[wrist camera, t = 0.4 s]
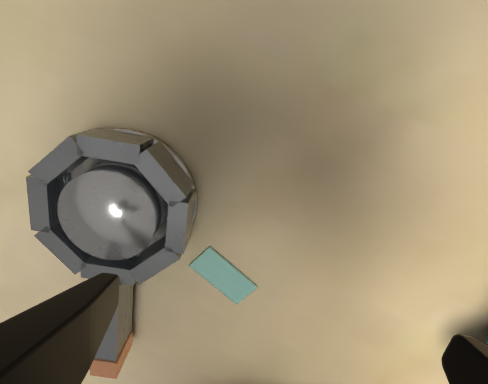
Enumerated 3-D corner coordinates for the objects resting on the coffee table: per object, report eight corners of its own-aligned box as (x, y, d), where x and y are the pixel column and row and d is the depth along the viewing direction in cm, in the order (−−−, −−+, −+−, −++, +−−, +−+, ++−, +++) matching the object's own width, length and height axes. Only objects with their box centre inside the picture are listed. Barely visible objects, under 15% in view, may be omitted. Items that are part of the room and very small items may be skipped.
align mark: (257, 286, 24) (257, 287, 24) (236, 302, 25) (236, 304, 25) (209, 245, 23) (209, 247, 23) (189, 264, 24) (189, 265, 24)
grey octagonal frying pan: (177, 350, 26) (167, 386, 23) (63, 333, 26) (38, 367, 23) (201, 145, 20) (191, 156, 17) (50, 119, 19) (13, 126, 16)
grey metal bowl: (189, 265, 24) (179, 295, 20) (63, 245, 23) (31, 273, 20) (204, 141, 20) (195, 153, 17) (56, 116, 20) (16, 123, 17)
